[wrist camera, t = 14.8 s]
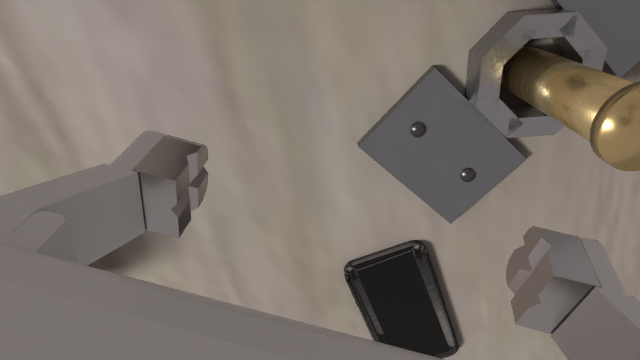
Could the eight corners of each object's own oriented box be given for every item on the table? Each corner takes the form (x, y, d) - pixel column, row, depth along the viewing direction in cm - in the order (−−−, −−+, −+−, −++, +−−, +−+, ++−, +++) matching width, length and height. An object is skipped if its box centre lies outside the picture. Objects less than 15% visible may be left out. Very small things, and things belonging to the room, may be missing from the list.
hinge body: (631, -140, 26) (662, -150, 24) (712, -11, 30) (745, -9, 28) (357, 142, 34) (361, 155, 32) (447, 218, 38) (457, 234, 35)
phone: (423, 241, 38) (461, 353, 44) (420, 234, 39) (457, 344, 45) (340, 269, 39) (388, 374, 45) (338, 262, 40) (386, 365, 46)
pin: (530, 26, 31) (666, 63, 19) (565, 67, 32) (710, 125, 21) (482, 73, 32) (582, 134, 21) (517, 110, 33) (629, 187, 22)
